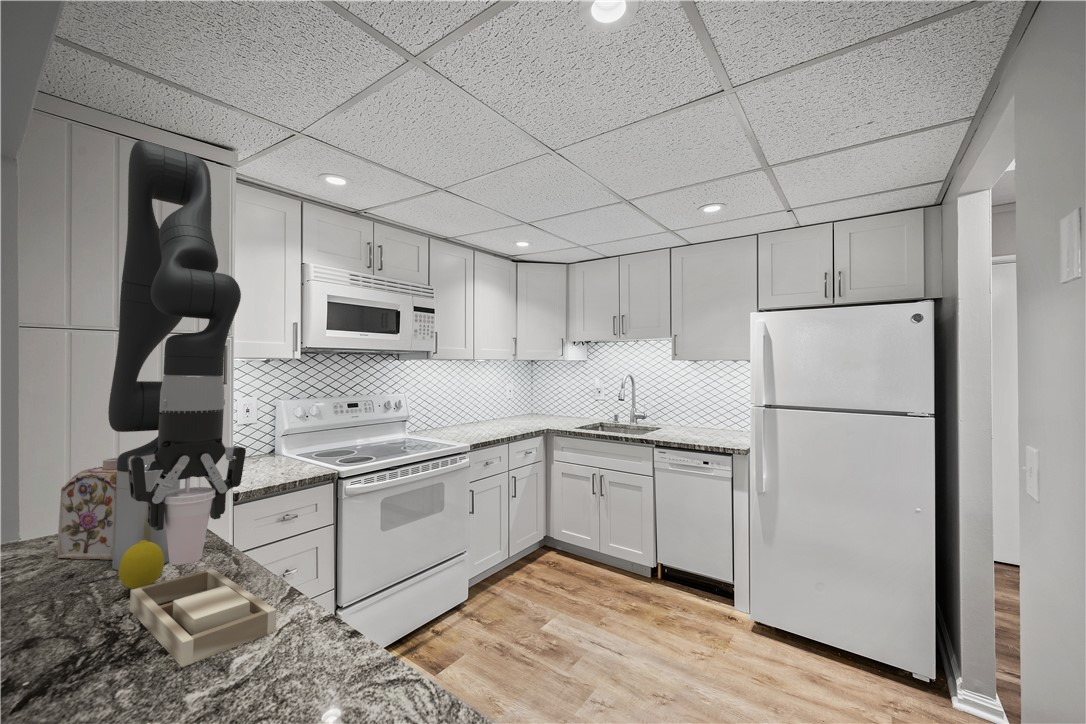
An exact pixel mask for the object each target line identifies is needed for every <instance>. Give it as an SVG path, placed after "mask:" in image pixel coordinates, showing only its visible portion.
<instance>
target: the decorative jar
mask: <svg viewBox="0 0 1086 724" xmlns="http://www.w3.org/2000/svg"><path fill="white" fill-rule="evenodd" d="M118 457H119V456H117V457H116V456H114V457H108V458H105V459H103V460H102V466H98V467H92V468H87V469H83V470H81V471H80V472H77V474H75V475H74V476H72V477H71V478H70V480H68V481H67V482H66V483H65V484H64V485H63V486H62V487H61V490H60V503H59V515H58V516H59V518H58V533H57V536H58V537H57V559H58V558H71V559H70V560H90V559H100V560H99V561H101V560H103V561H113V542H114V521H115V500H116V477H117V460H118Z"/></svg>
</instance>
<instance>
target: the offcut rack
mask: <svg viewBox="0 0 1086 724" xmlns="http://www.w3.org/2000/svg"><path fill="white" fill-rule="evenodd" d="M225 585H226V586H228V587H229V588H231V589H232V590H234V591H235V592H237V593H238V594H239V595H241V596H242V597H244V598H245V599H247V600H248V601H250V612H251V613H252V614H253V615H250V616H247V617H244V618H241V619H238V620H235V621H233V622H230V623H227V624H224V625H221V626H218V627H215V628H212V629H210V630H207V631H204V632H201V633H198V634H195V635H192V636H190V635H189V634H188V633H187V632H186V631H185V630H184V629H183V628H182V627H181V626H179V625H178V624H177V623H176V619H175V618H174V617H173V600H177V599H180V598H184V597H187V596H191V595H194V594H198V593H201V592H205V591H208V590H212V589H215V588H218V587H222V586H225ZM129 592H130V593H129V595H130V598H129V611H130V612H131V613H132V614H133V615H134V616H135V617H136V618H137V620H139V622H140V623H141V624H142V625H143V626H144V628H146V630H147V631H148V632H149V633H150V634H151V635H152V636H153V637H154V638H155V639H156V640H157V642H159V644H160V645H161V646H162V647H163V648H164V650H166V651H167V653H168V654H169V655H170V656H171V657H172V658H173V660H175V661H176V662H177V664H178V665H179V666H180V667H181V668H183V667H186V666H189V665H192V664H195V663H197V662H199V661H202V660H205V659H207V658H210V657H213V656H214V655H218V654H220V653H223V652H225V651H228V650H230V649H231V650H232V649H233V648H236V647H238V646H241V645H243V644H246V643H249V642H251V641H254V640H257V639H259V638H261V637H264V636H267V635H269V634H272V633H274V632H276V630H277V629H276V627H277V622H276V621H277V609H276V608H274V607H273V606H272V605H269V604H268V603H266V602H265V601H264V600H262V599H260V598H259V597H258V596H256V595H255V594H252V593H251V592H249V591H248V590H247V589H245V588H243V587H242V586H241V585H239V584H237V583H236V582H234V581H233V580H232V579H229V578H228V577H226V576H225V575H223V574H222V573H221V572H219V571H218V570H216V569H214V568H210V569H206V570H202V571H198V572H193V573H191V574H187V575H183V576H180V577H175V578H172V579H168V580H164V581H159V582H156V583H152V584H151V585H148V586H144V587H140V588H136V589H130V591H129ZM170 601H171V602H170ZM166 602H169V603H166ZM161 604H162V605H161Z"/></svg>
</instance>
